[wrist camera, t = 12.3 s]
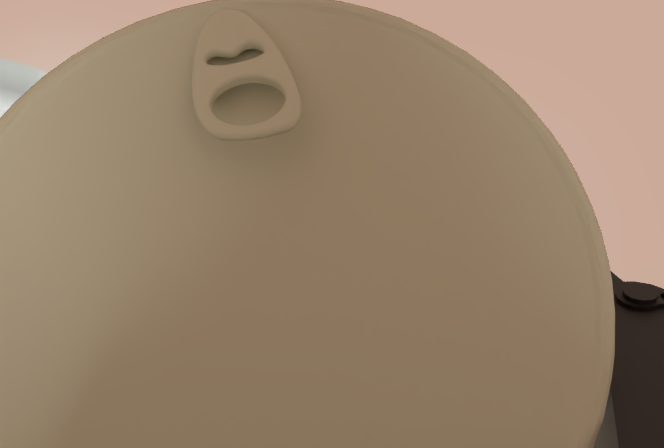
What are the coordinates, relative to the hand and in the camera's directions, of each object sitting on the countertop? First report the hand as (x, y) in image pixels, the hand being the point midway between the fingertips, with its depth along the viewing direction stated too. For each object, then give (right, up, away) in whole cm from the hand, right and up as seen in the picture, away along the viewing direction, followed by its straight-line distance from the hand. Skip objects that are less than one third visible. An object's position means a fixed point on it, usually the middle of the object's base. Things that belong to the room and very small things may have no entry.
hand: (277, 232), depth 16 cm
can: (0, -5, +3) cm, 5 cm away
